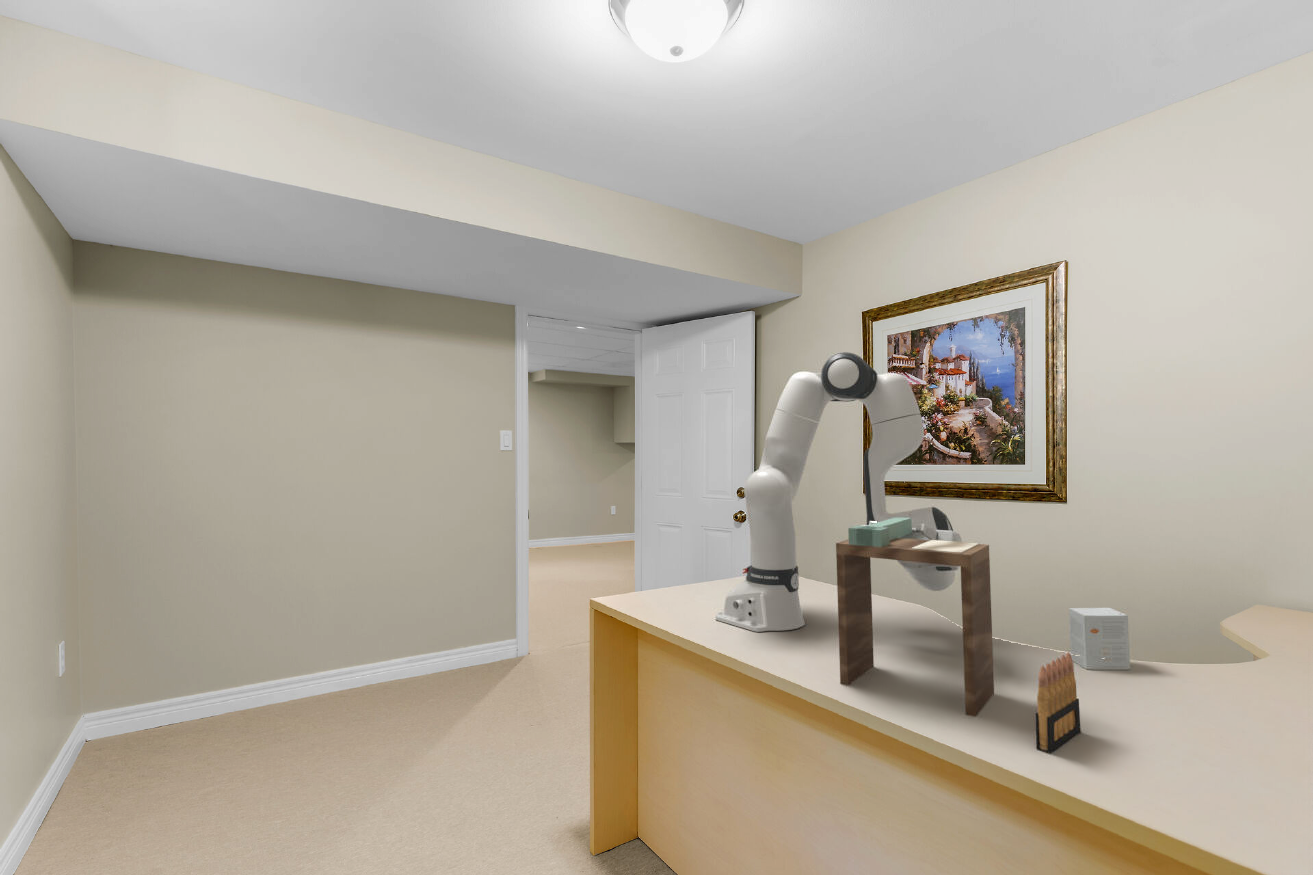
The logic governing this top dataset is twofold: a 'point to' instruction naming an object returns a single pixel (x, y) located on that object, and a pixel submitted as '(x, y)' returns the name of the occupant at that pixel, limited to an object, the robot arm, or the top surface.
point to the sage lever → (880, 532)
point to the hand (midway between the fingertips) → (895, 525)
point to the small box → (1099, 638)
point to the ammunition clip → (1057, 705)
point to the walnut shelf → (974, 607)
